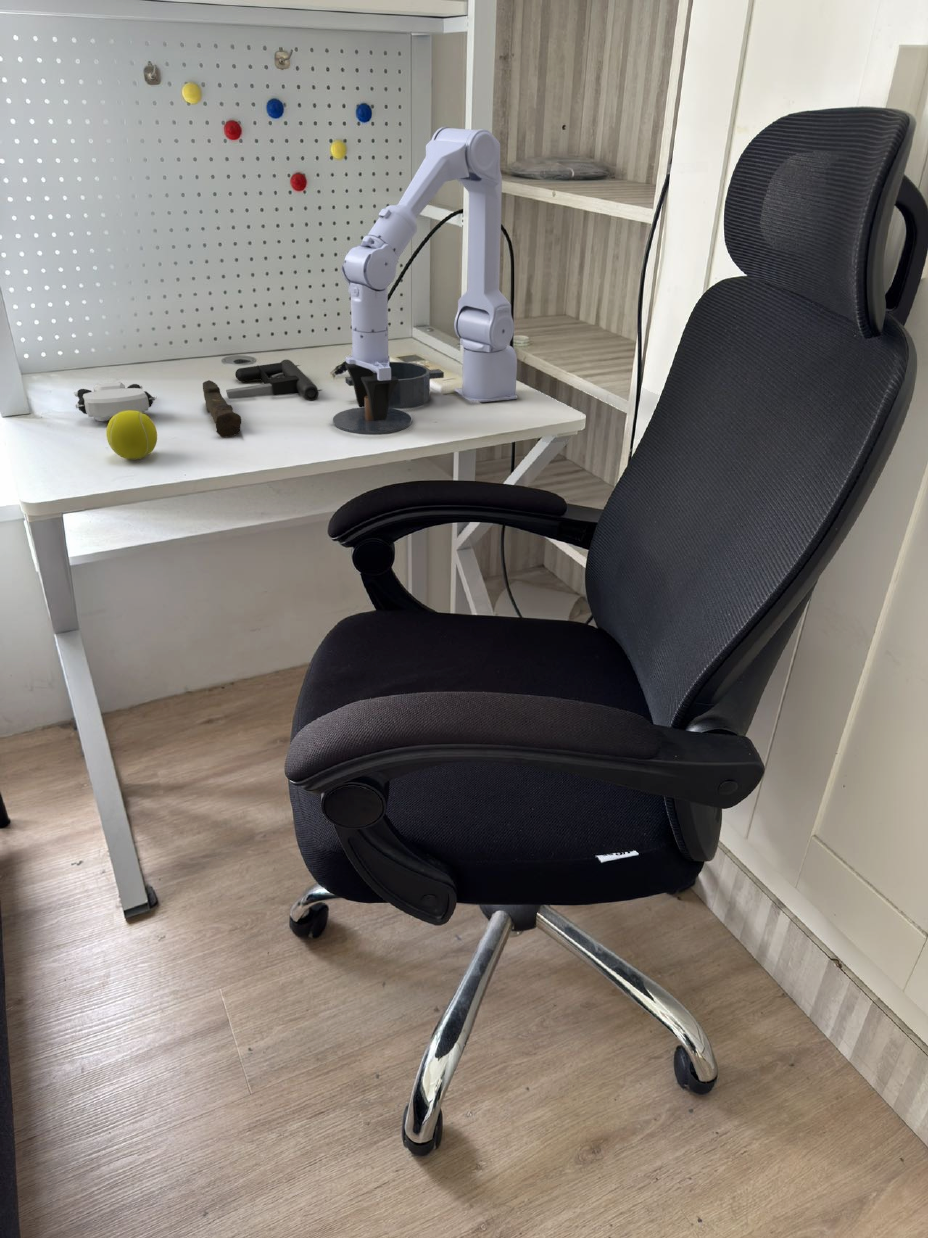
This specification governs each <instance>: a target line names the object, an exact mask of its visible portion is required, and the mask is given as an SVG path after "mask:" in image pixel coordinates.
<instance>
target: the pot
mask: <svg viewBox="0 0 928 1238" xmlns="http://www.w3.org/2000/svg"><path fill="white" fill-rule="evenodd" d="M389 366H390V367H391V377H393V376H395V377H397V378H398V384H397V385H396V387H395V389H394V391H393V393H392V396H391V399H390V403H389V408H392V409H396V410H400V409H411V408H416V407H420V406H424V405H425V404H427V403H429V402H430V399H431V398H430V396H431V389H430V388H431V380H432V379H433V380H434V379H443V378H445V372H444V371H442V370H441V369H440V368H435V369H434V368H433V369H430V368H428V367H427V366H425V365H422V364H418V363H416V362H415V363H414V362H408V361H407V362H406V361H390V364H389ZM344 380H345V381H344V382H345V384H347V385H348V386H349V387H354V386H353V383H352V380H351V377H350V376H345V379H344Z"/></svg>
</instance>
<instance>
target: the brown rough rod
mask: <svg viewBox="0 0 928 1238" xmlns="http://www.w3.org/2000/svg"><path fill="white" fill-rule="evenodd" d="M202 392H203V397H204V401H205V408H206V412H207V413H208V414H210V417H211V418H212V420H213V422H214V424H215V429H216V431H215V432H216V433H217V434H218V435H219V437H221V438H227V437H228V438H230V437H234V436H236V435H238V434H240V433H241V429H242V428H241V425H242V417H241V415H240V414H238V413H236V412H234V408H233V405H231V404H229V403H228V402H227V401H226V400H225V398H224V397H223V396H222V394H221V388H220V387H219V386H218V384H217V383H216V382H214V381H213V380H209V379H208V380H205V381H203V382H202Z"/></svg>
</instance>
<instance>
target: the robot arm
mask: <svg viewBox="0 0 928 1238" xmlns="http://www.w3.org/2000/svg"><path fill="white" fill-rule="evenodd" d="M502 176H503V175H502V171H501V143H500V142H499V140H498V139H497V138H496V137H495V136H494V134H493V133H492V132H491V131H490V130H488V129H484V128H479V129H470V128H469V129H467V128H455V127H454V128H452V127H449V126H442V127H439V128H438V129H437V130H436V131H435V132H434V133H433V135H432V137H431V139H430V140H429V142H428V143H426V145H425V157H424V158H423V160H422V163H421V164H420V166H419V168H418V169H417V170H416V172H415V174H414V176H413V177H412V180H411V181H410V183H409V185H408V186H407V188H406V190H405V191H404V193H403V195H402V196H401V198H400V200H399V202H398V203H397V204H390V205H387V206H386V207H385V208H382V209H380V212H379V213H378V216H379V217H378V218H377V220H376V222H375V223H374V224H373V226H372V227H371V229H370V230H369V232H368V233H367V234H366V235H365V236H364V237H363V239H362V240H361V241H362V242H361V243H360V245H356V246H354V247H352V248H351V249H349V251H348V252H347V254H346V255H345V257H344V262H343V265H341V266H340V271H341V274H342V277H343V279H344V280H345V282H346V283H347V288H348V289H347V291H348V294H349V295H350V316H351V341H352V342H351V345H352V346H351V356H346V357H345V364H344V368H345V369H346V371H347V372H348V375H349V377H351V380H352V383H353V386H352V387H353V389H354V395H355V398H356V402H357V405H358V408H361V407H365V399H364V397H365V396H368V399H369V405H370V411H371V416H372V419H373V420H374V421H379V420H386V417H387V412H388V408H389V403H390V399H391V396H392V393H393V391H394V389H395V387H396V385H397V384H398V378H397V377H395V376H393V377H391V367H390V366H389V364H390V362H391V357H390V355H389V305H388V301H389V300H388V299H389V298H388V292H389V291H388V287H390V285H391V284H392V283H393V282H394V281H395V278H396V275H397V274H396V273H397V266H398V264H399V259H400V257H401V256H402V254H403V252H404V251H405V250H406V248H407V246H409V244H410V242H411V240H412V239H413V237H414V236H415V235H416V233H417V231H418V225H417V224H418V223H417V218H418V217H419V216H420V215H421V213H422V212H423V211H424V210H425V208H426V207H427V206H428V205H429V203H430V202H431V201H432V199H433V198H434V197H435V196H436V195H437V193H438V192H439V191H440V189H442V187H443V186H444V184H445V183H447V182H450V181H455V180H457V181H458V182H459V183H460V184H461V185H462V187H464V189H465V190H466V191H467V192H468V219H467V220H468V223H467V224H468V227H467V230H468V232H467V235H468V236H467V237H468V238H467V291H466V292H465V293H463V294H462V295H461V296H460V297H459V298H458V300H457V311H456V314H455V318H454V323H453V327H454V333H455V335H456V336H457V338H458V339H459V340H460V346H462V379H461V381H462V385H461V388H454V391H455V392H456V393H458V394H459V395H460V396H461V397H463V398H464V399H466V400H467V401H468V402H479V403H487V402H498V401H507V400H508V401H509V400H517V399H518V395H516V394H517V374H518V358H517V354H516V351H515V349H514V348H513V346H511V345H509V344H510V343H511V341H512V339H513V337H514V336H513V335H514V332H515V323H514V319H513V315H512V304H511V303H510V302H509V300H508V299H507V298H506V297H505V295H504V294H503V293H502V292H501V291H500V281H501V279H500V277H501V270H500V269H501V240H502V239H501V236H502V201H503V200H502V199H503V196H502V195H503V177H502Z"/></svg>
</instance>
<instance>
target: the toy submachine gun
mask: <svg viewBox="0 0 928 1238" xmlns="http://www.w3.org/2000/svg"><path fill="white" fill-rule="evenodd" d="M299 366H301V364H297V365H296V364H295V363H294V362H293V361H292V360H290V359H283V360H281V361H280V362H275V363H268V364H267V363H266V364H261V365H253V366H246V367H239V368H237V369H236V371H235V372H234V373H235V378H236V380H237V381H239V382H242V383H245V382H253V381H259V380H260V381H261V383H263V384H256V385H250V386H249V385H248V386H242V387H236V388H229V389H228V388H227V389H226V390H225V391H226V397H227V398H228V399H240V398H251V397H261V396H272V395H273V396H283V395H293V394H294V395H295V394H296V395H297V394H300V395H301V397H302V398H303V399H305V400H307V401H315V400H316V399H317V398H318V397H319V392H321V391H322V389H318V387H317V385H315V383H313V381H312V380H311V379H310V378H309V377H308V376H306V374H305V373H304V372H303V371H302V369H300V368H299Z"/></svg>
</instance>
